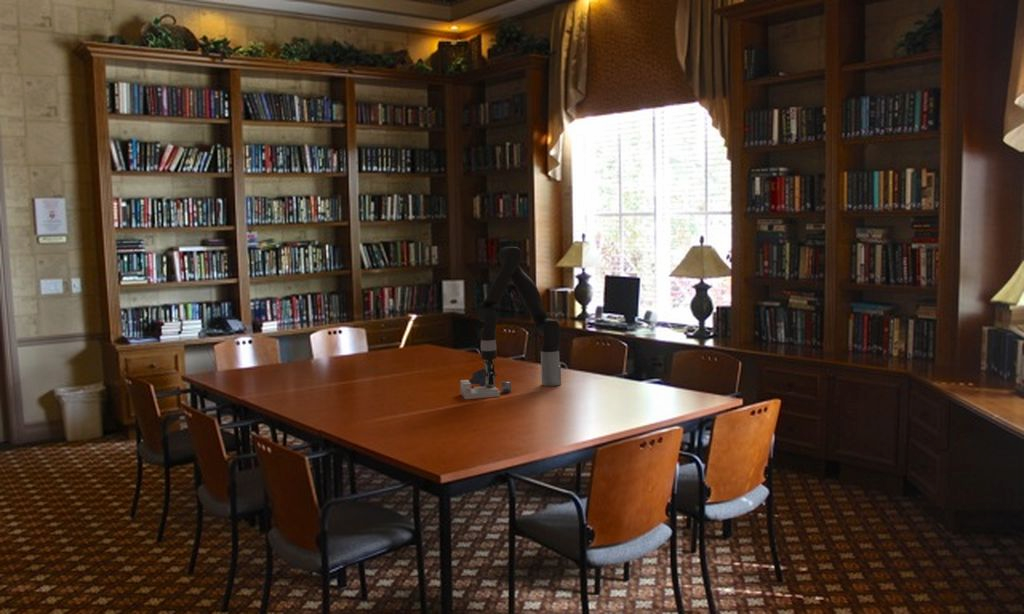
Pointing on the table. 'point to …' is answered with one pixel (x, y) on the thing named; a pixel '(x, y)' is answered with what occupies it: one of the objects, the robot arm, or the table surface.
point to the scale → (477, 391)
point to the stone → (480, 377)
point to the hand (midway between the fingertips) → (490, 383)
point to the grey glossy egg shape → (488, 382)
